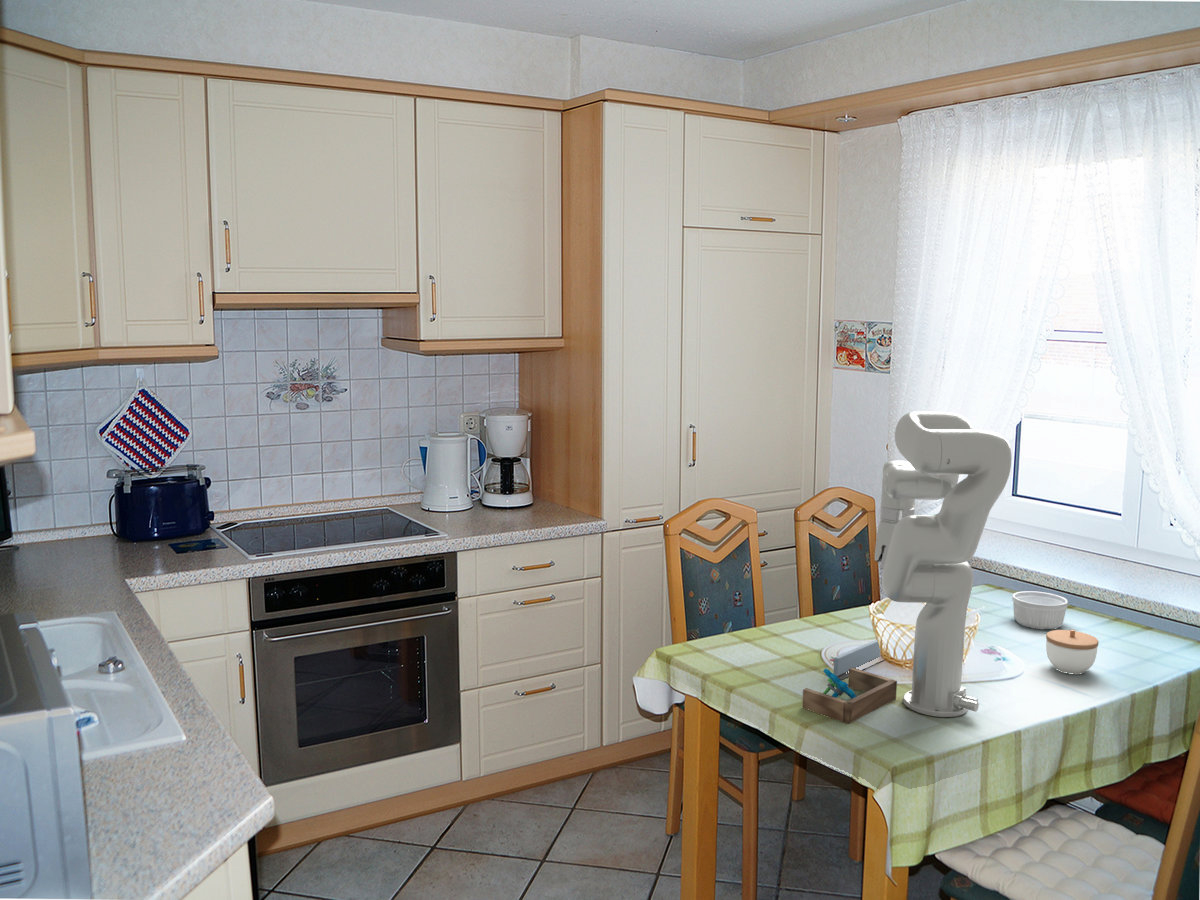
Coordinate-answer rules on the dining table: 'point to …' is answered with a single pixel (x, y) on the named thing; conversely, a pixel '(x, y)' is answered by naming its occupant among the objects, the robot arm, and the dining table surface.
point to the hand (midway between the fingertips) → (892, 590)
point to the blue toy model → (837, 686)
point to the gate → (856, 657)
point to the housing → (874, 697)
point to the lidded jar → (1071, 650)
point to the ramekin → (1039, 609)
